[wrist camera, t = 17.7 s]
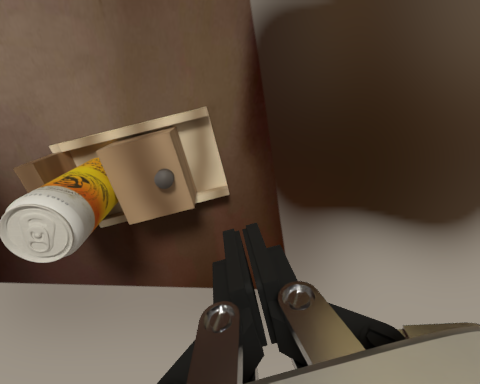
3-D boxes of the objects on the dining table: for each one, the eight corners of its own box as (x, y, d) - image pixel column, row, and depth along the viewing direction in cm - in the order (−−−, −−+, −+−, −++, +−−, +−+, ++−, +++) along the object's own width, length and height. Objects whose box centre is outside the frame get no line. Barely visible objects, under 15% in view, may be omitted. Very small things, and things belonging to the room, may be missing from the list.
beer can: (131, 159, 33) (76, 205, 19) (129, 201, 35) (78, 269, 21) (82, 152, 32) (-14, 195, 18) (83, 195, 34) (-2, 263, 20)
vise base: (94, 223, 37) (65, 255, 29) (53, 144, 32) (7, 159, 25) (228, 188, 37) (233, 211, 30) (206, 106, 33) (205, 109, 25)
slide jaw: (141, 204, 35) (126, 229, 29) (115, 141, 32) (90, 153, 25) (196, 190, 36) (193, 212, 29) (176, 126, 32) (167, 134, 25)
